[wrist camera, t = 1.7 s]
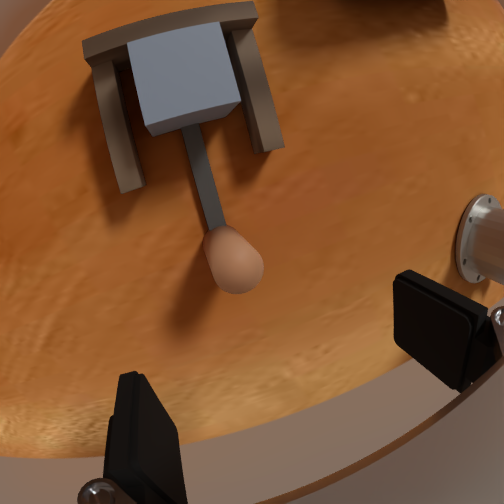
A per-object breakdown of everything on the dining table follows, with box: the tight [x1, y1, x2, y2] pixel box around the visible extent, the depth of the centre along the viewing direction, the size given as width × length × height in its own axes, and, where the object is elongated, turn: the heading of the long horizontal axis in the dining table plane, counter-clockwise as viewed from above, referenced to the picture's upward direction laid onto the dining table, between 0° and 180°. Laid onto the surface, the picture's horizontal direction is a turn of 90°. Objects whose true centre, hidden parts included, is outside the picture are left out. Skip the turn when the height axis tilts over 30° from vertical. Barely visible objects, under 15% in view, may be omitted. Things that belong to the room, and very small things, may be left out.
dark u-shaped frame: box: [82, 1, 285, 194], centre depth 19 cm, size 12×12×5 cm
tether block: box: [127, 22, 264, 294], centre depth 20 cm, size 18×6×7 cm, turn 15°
